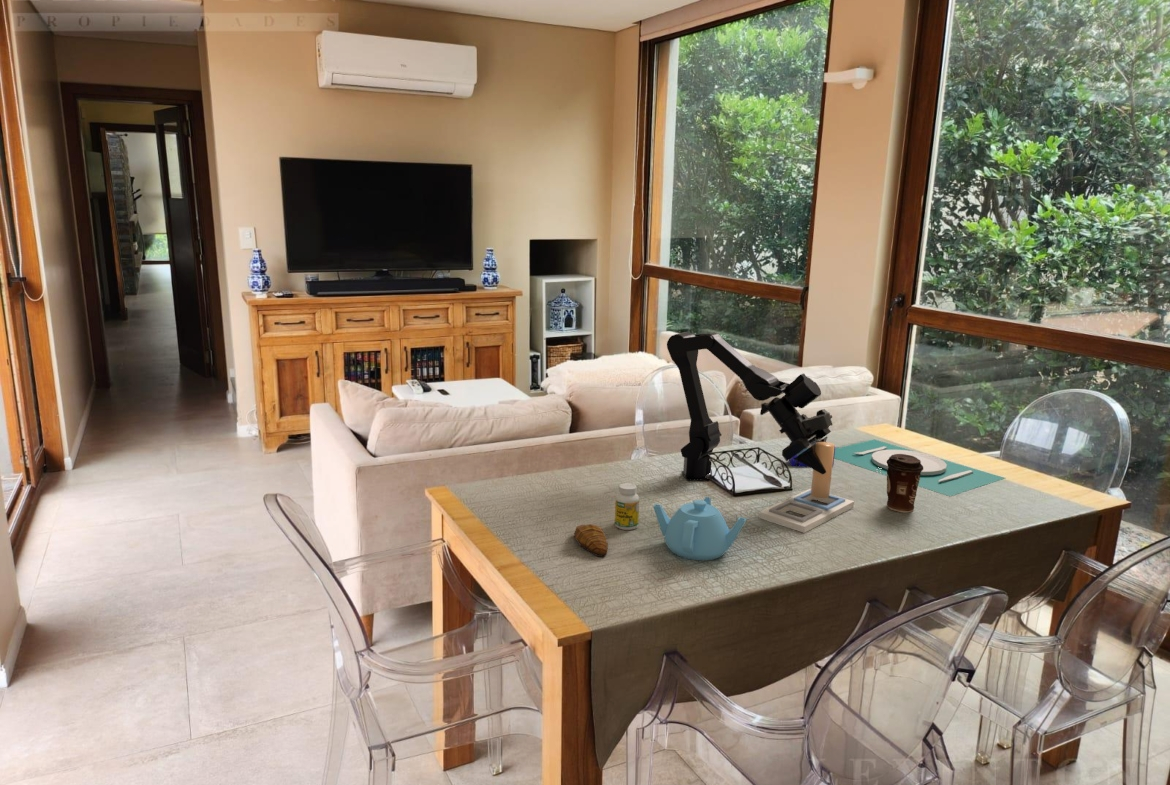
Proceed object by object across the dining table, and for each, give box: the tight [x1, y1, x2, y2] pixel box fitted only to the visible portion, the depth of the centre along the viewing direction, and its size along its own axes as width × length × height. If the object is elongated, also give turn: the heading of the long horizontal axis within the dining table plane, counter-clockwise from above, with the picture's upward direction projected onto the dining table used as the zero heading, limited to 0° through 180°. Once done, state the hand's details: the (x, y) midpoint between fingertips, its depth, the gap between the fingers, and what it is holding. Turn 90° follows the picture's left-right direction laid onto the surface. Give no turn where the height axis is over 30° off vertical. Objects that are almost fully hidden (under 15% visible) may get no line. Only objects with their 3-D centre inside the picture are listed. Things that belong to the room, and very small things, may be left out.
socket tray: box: [758, 487, 855, 534], centre depth 197 cm, size 24×12×2 cm, turn 136°
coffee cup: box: [886, 454, 923, 514], centre depth 200 cm, size 9×8×13 cm
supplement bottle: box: [614, 482, 640, 531], centre depth 184 cm, size 5×5×10 cm
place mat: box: [834, 439, 1006, 497], centre depth 235 cm, size 45×30×2 cm
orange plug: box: [810, 441, 836, 498], centre depth 199 cm, size 4×4×13 cm
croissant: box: [573, 524, 609, 557], centre depth 174 cm, size 14×7×5 cm, turn 23°
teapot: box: [652, 496, 747, 561], centre depth 173 cm, size 15×15×11 cm
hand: (828, 470), depth 198 cm, fingers closed on orange plug, 4 cm apart
